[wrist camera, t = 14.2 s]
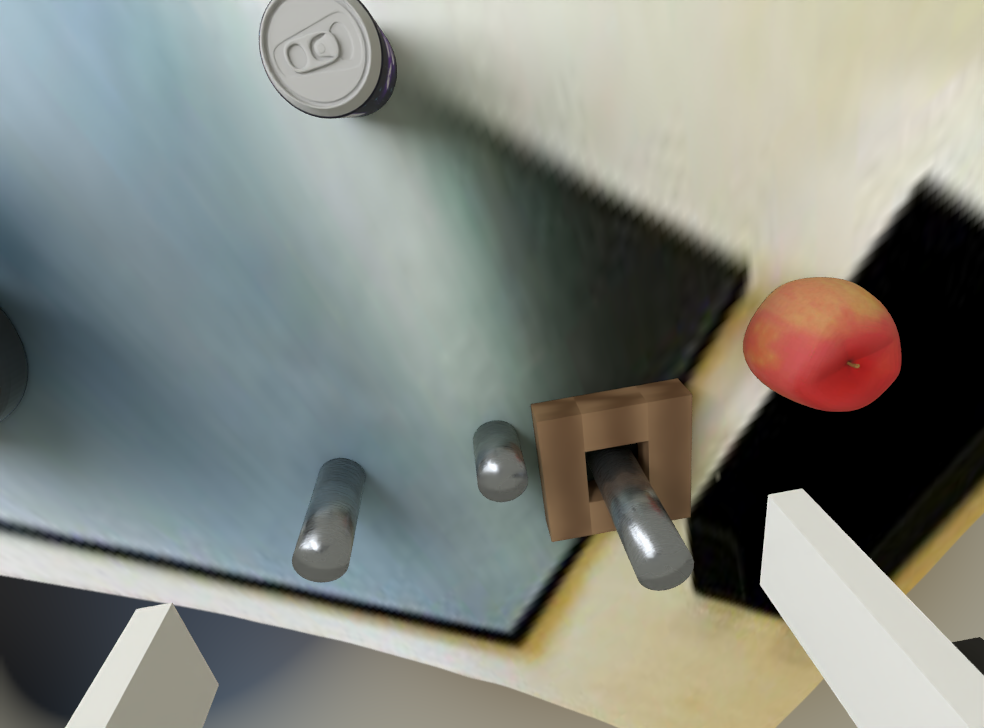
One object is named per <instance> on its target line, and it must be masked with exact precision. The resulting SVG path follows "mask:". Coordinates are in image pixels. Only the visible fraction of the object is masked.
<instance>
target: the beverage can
mask: <svg viewBox="0 0 984 728" xmlns="http://www.w3.org/2000/svg"><path fill="white" fill-rule="evenodd" d="M259 49H260V55H261V59H262V63H263V66H264V69H265V71H266V73H267V76H268V78H269V79H270V81H271V83H272V84H273V86H274V87H275V89H276V90H277V91H278V93H279V94H280V95H281V96H282V97H283V98H284V99H285V100H286V101H287V102H288V103H290V104H291V105H292V106H294V107H295V108H297V109H298V110H300V111H302V112H304V113H306V114H309V115H312V116H315V117H319V118H346V117H360V116H366V115H369V114H372V113H374V112H376V111H377V110H379V109H380V108H381V107H382V106H383V105H384V104H385V103H386V102H387V101H388V99H389V98H390V96H391V95H392V92H393V90H394V87H395V83H396V78H397V65H396V59H395V55H394V52H393V49H392V47H391V45H390V43H389V41H388V39H387V38H386V36H385V35H384V33H383V32H382V30H381V29H380V28H379V26H378V25H377V23H376V22H375V20H374V19H373V17H372V16H371V14H370V13H369V11H368V10H367V9H366V7H365V6H364V5H363V4H362V3H361V2H360V0H271V1H270V3H269V4H268V6H267V8H266V10H265V12H264V14H263V17H262V20H261V24H260V30H259Z"/></svg>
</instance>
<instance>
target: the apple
mask: <svg viewBox="0 0 984 728" xmlns="http://www.w3.org/2000/svg"><path fill="white" fill-rule="evenodd" d="M743 352H744V357H745V360H746V362H747V364H748V366H749V368H750V370H751V371H752V372H753V374H754V375H755V376H756V377H757V378H758V379H759V380H760V381H761V382H762V383H763V384H765V385H766V386H767V387H769V388H770V389H772V390H773V391H775V392H777V393H778V394H780V395H782V396H784V397H786V398H788V399H791V400H793V401H795V402H798V403H800V404H803V405H805V406H808V407H811V408H815V409H819V410H824V411H836V412H838V411H851V410H856V409H860V408H862V407H864V406H867V405H868V404H870V403H871V402H873V401H874V400H875V399H877V398H878V397H879V396H880V395H881V394H882V393H883V392H884V391H885V390H886V389H887V388H888V387H889V386H890V385H891V384H892V383H893V382H894V380H895V379H896V377H897V376H898V374H899V372H900V368H901V347H900V340H899V335H898V331H897V328H896V325H895V323H894V321H893V319H892V317H891V315H890V314H889V312H888V311H887V309H886V308H885V307H884V306H883V305H882V303H881V302H880V301H879V300H877V299H876V298H875V297H874V296H873V295H872V294H870V293H869V292H867V291H866V290H865V289H863V288H862V287H860V286H858V285H857V284H855V283H852V282H849V281H846V280H843V279H837V278H827V277H815V278H805V279H799V280H794V281H791V282H788V283H786V284H784V285H782V286H780V287H778V288H777V289H775V290H774V291H773V292H772V293H771V294H770V295H769V296H768V297H767V298H766V299H765V300H764V302H763V303H762V304H761V305H760V307H759V308H758V310H757V311H756V313H755V314H754V316H753V317H752V319H751V321H750V323H749V325H748V327H747V330H746V333H745V336H744V341H743Z"/></svg>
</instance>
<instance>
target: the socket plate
mask: <svg viewBox="0 0 984 728" xmlns="http://www.w3.org/2000/svg"><path fill="white" fill-rule="evenodd" d="M531 411H532V419H533V426H534V434H535V441H536V449H537V456H538V464H539V471H540V479H541V486H542V494H543V501H544V509H545V516H546V522H547V525H548V529H549V533H550V536H551V540H552V542H555V541H560V540H566V539H571V538H577V537H582V536H588V535H593V534H599V533H604V532H610V531H615V530H616V527H615V525H614V523H613V520H612V518H611V516H610V514H609V511H608V509H607V507H606V504H605V502H604V500H603V497H602V495H601V493H600V490H599V488H598V486H597V483H596V481H595V480H590V481H587V471H586V459H585V452H588V451H593V450H599V449H605V448H610V447H616V446H622V445H627V444H633V443H637V444H638V463H639V465H640V467H641V469H642V470H643V472H644V474H645V475H646V477H647V479H648V481H649V482H650V484H651V486H652V488H653V489H654V491H655V493H656V495H657V496H658V498H659V500H660V502H661V503H662V505H663V507H664V509H665V510H666V512H667V514H668V515H669V517H670V519H671V520H676V519H682V518H687V517H690V516H691V450H692V394H691V393H690V392H689V390H688V389H687V388H686V387H685V386H684V385H683V384H682V383H681V382H680V381H679V379H678V378H677V379H672V380H666V381H660V382H655V383H649V384H643V385H638V386H632V387H626V388H620V389H615V390H609V391H603V392H598V393H592V394H586V395H581V396H575V397H569V398H564V399H558V400H552V401H546V402H541V403H535V404H531Z"/></svg>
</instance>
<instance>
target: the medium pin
mask: <svg viewBox="0 0 984 728" xmlns="http://www.w3.org/2000/svg"><path fill="white" fill-rule="evenodd" d="M364 482H365V473H364V471H363V469H362V468H361V466H360V465H359V464H357V463H356V462H354V461H352V460H349V459H344V458H338V459H333V460H330V461H328V462H327V463H325V464H324V465H323V466H322V468H321V469H320V472H319V475H318V478H317V481H316V484H315V487H314V491H313V494H312V497H311V500H310V503H309V506H308V510H307V513H306V516H305V519H304V522H303V525H302V529H301V532H300V535H299V538H298V541H297V544H296V547H295V551H294V554H293V557H292V564H293V567H294V569H295V571H296V572H297V573H298V574H299V575H300V576H302V577H303V578H305V579H307V580H310V581H314V582H329V581H333V580H336V579H338V578H339V577H341V576H342V575H343V574H344V573H345V572H346V571H347V569H348V566H349V561H350V556H351V551H352V546H353V540H354V535H355V530H356V524H357V519H358V514H359V508H360V503H361V498H362V492H363V487H364Z"/></svg>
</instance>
